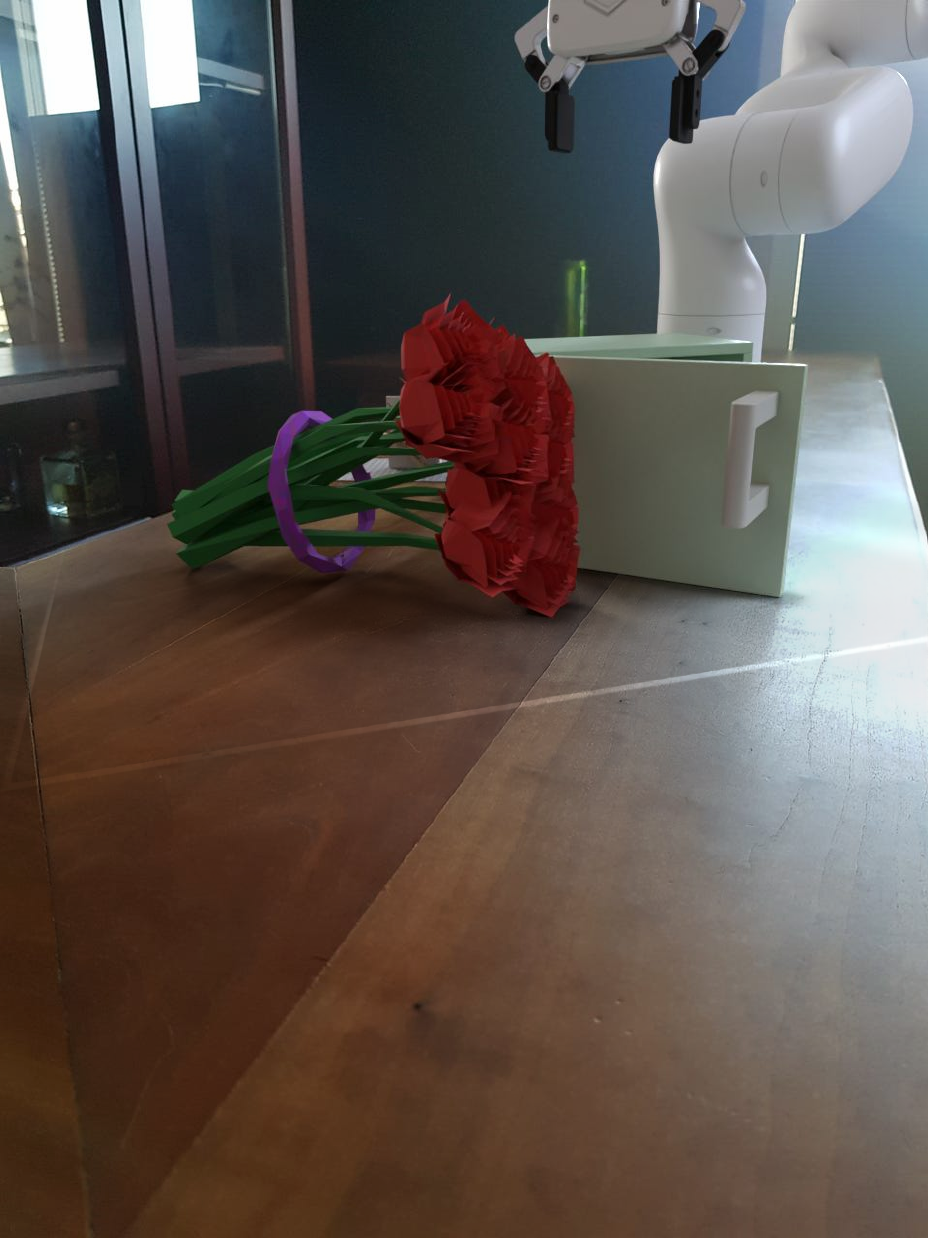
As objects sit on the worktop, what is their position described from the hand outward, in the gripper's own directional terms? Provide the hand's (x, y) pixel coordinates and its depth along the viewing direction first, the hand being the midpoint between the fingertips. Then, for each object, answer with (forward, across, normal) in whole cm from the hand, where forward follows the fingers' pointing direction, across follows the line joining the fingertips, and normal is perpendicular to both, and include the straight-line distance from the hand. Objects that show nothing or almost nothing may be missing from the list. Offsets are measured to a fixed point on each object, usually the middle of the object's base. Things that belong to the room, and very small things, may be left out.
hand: (618, 146), depth 71 cm
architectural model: (+28, -25, +8) cm, 39 cm away
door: (+28, +10, -18) cm, 35 cm away
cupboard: (+28, +2, -4) cm, 29 cm away
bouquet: (+28, -7, -25) cm, 38 cm away
